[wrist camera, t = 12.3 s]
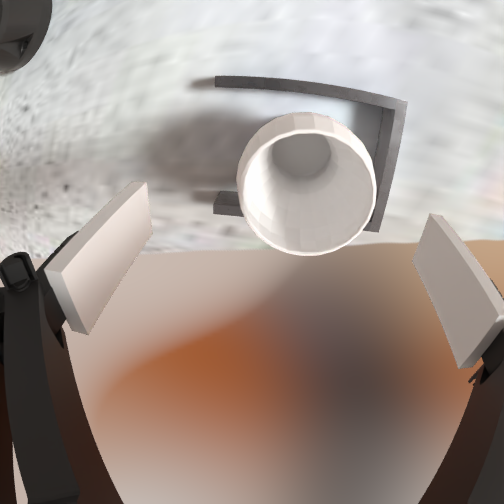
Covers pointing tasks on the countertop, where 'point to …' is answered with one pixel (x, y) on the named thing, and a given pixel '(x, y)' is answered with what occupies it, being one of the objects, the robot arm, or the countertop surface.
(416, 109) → the countertop surface
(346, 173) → the cup
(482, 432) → the robot arm
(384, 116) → the channel
